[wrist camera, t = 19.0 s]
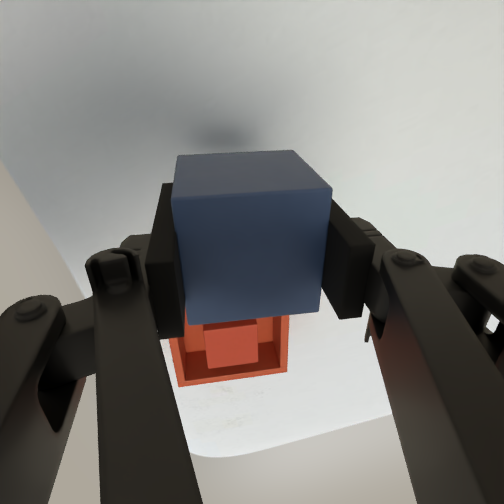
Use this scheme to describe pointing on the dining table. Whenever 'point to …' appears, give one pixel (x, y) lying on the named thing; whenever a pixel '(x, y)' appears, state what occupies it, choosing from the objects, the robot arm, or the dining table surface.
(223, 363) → the red block
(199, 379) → the red bin
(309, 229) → the blue block
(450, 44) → the dining table surface
